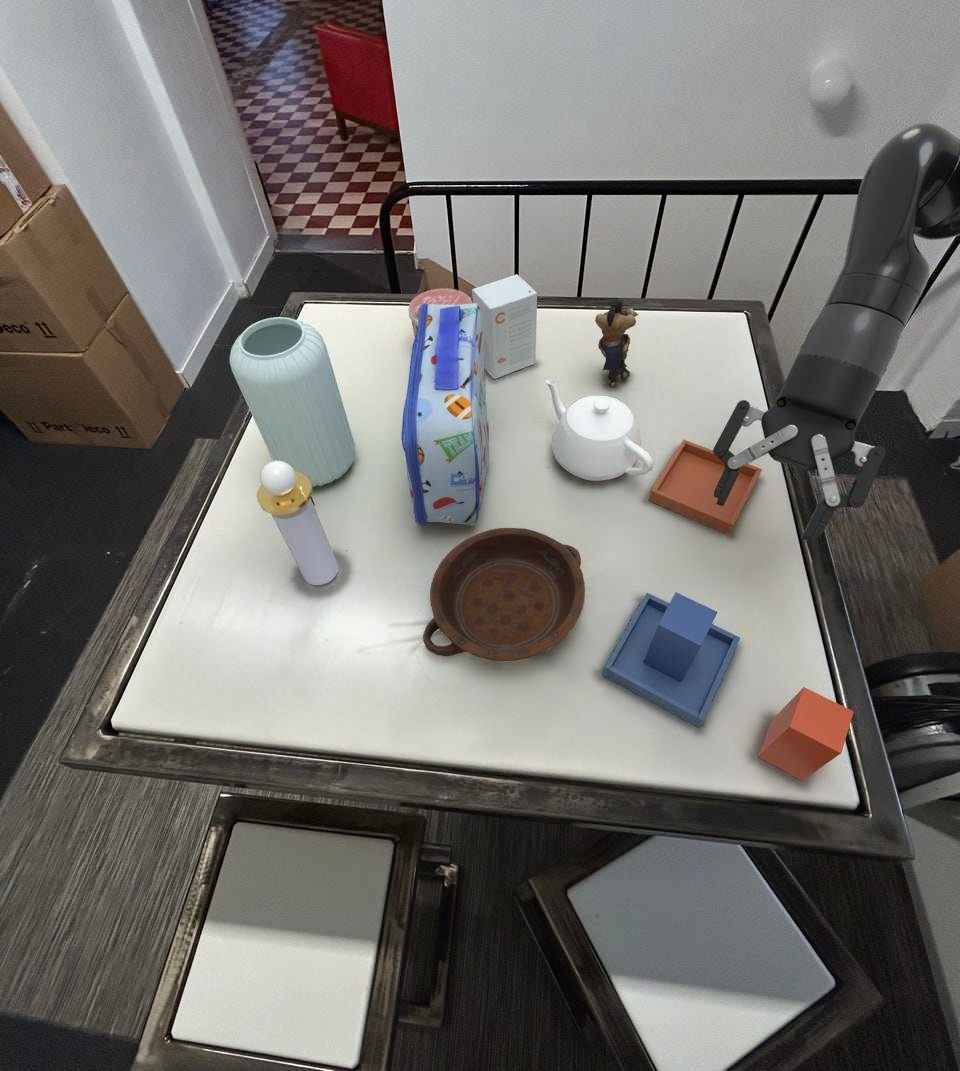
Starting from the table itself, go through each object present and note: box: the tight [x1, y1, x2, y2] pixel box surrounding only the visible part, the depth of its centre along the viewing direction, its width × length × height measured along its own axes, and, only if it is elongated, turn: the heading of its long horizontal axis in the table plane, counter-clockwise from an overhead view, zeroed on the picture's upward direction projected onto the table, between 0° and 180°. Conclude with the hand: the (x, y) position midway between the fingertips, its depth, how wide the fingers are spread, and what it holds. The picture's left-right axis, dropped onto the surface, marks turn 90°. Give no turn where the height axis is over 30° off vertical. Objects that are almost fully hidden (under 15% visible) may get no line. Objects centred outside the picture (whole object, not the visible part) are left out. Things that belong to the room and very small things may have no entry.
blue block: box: [643, 591, 718, 682], centre depth 65 cm, size 4×4×9 cm
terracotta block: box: [757, 686, 855, 782], centre depth 59 cm, size 4×4×9 cm
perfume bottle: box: [256, 460, 339, 586], centre depth 70 cm, size 6×6×20 cm
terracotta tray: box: [648, 439, 763, 535], centre depth 83 cm, size 11×11×2 cm
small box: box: [471, 273, 538, 380], centre depth 97 cm, size 8×6×13 cm
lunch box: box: [401, 302, 490, 527], centre depth 80 cm, size 28×10×22 cm, turn 0°
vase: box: [229, 316, 356, 488], centre depth 81 cm, size 12×12×22 cm
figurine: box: [594, 298, 639, 388], centre depth 92 cm, size 7×6×15 cm
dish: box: [422, 527, 586, 662], centre depth 72 cm, size 18×22×5 cm
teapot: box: [545, 379, 655, 482], centre depth 84 cm, size 20×12×10 cm, turn 39°
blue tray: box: [602, 592, 741, 728], centre depth 68 cm, size 11×11×2 cm
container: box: [407, 287, 473, 337], centre depth 102 cm, size 10×10×8 cm
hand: (761, 522), depth 61 cm, fingers open, 8 cm apart
